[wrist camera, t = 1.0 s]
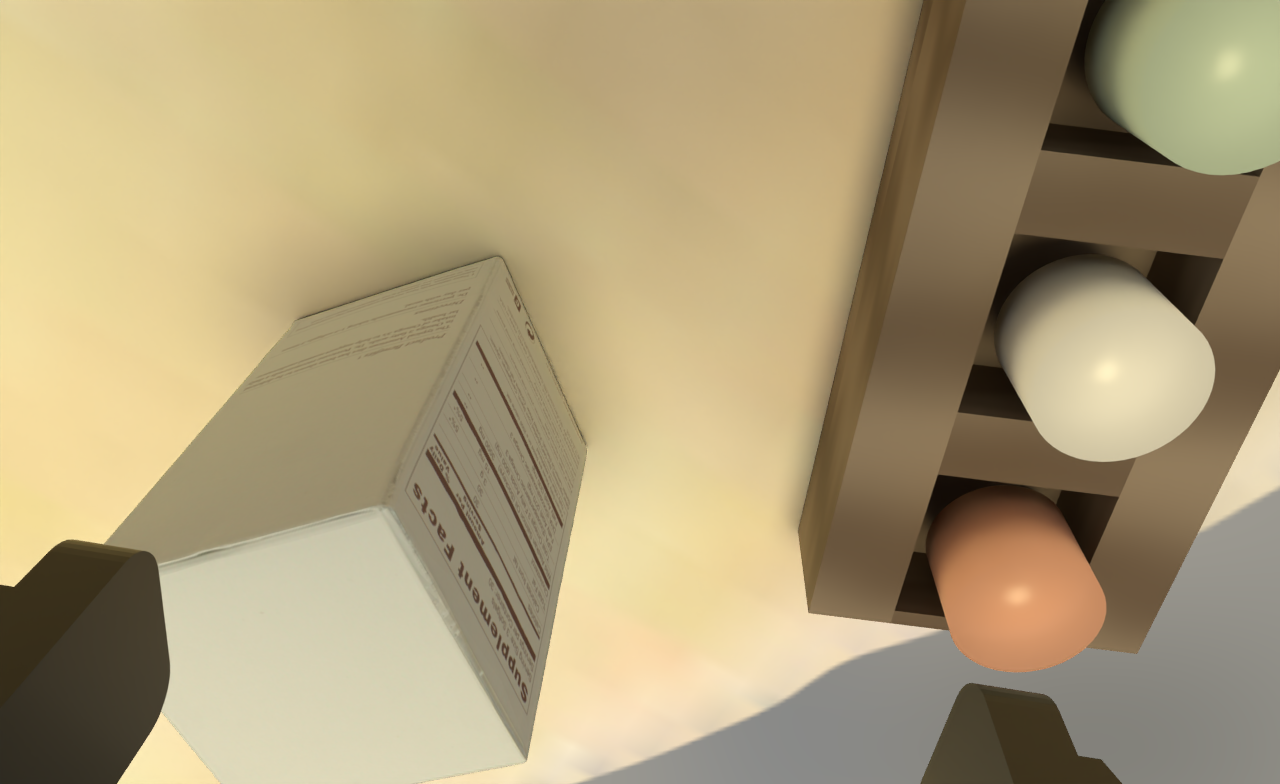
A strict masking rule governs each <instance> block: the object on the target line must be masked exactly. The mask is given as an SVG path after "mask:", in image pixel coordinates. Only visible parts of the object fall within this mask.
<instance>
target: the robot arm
mask: <svg viewBox="0 0 1280 784" xmlns="http://www.w3.org/2000/svg"><path fill="white" fill-rule="evenodd" d="M169 679H170V659H169V650H168V642H167V634H166V626H165V618H164V610H163V601H162V593H161V585H160V577H159V569H158V564H157V562H156V559H155V557H154V556H153V555H152V554H151V553H150V552H147V551H142V550H136V549H130V548H123V547H117V546H110V545H104V544H98V543H91V542H85V541H79V540H66V541H63V542H61V543H59V544H58V545H56V546H55V547H54V548H53V549H51V550H50V551H49V552H48V553H47V554H46V555H45V556H44V557H43V558H42V559H41V560H40V561H39V562H38V563H37V564H36V565H35V566H34V567H33V568H32V570H31V571H30V572H29V573H28V574H27V575H26V576H25V577H24V578H23V579H22V580H21V581H20V582H19V583H18V584H17V585H16V586H15V587H11V586H5V585H0V784H117V783H118V781H119V780H120V778H121V776H122V775H123V773H124V772H125V770H126V769H127V767H128V766H129V764H130V763H131V761H132V760H133V758H134V757H135V755H136V754H137V752H138V751H139V749H140V748H141V746H142V745H143V743H144V741H145V740H146V738H147V737H148V735H149V734H150V732H151V731H152V729H153V727H154V725H155V723H156V721H157V719H158V717H159V715H160V712H161V710H162V707H163V704H164V702H165V698H166V694H167V690H168V685H169ZM921 784H1122V783H1121V782H1120V781H1119V780H1118V779H1117V777H1116V776H1115V775H1114V774H1113V773H1112V772H1111V770H1110V769H1109V768H1108V767H1107V766H1106V765H1105V763H1103V761H1102V760H1101V759H1095V758H1089V757H1082V756H1078V755H1077V752H1076V750H1075V747H1074V745H1073V743H1072V740H1071V738H1070V736H1069V733H1068V731H1067V729H1066V726H1065V724H1064V721H1063V719H1062V717H1061V714H1060V712H1059V710H1058V708H1057V706H1056V704H1055V703H1054V701H1053V700H1052V699H1051V698H1050V697H1048V696H1046V695H1044V694H1038V693H1032V692H1025V691H1019V690H1013V689H1006V688H1000V687H993V686H987V685H980V684H974V683H969V684H966V685H965V686H964V687H963V688H962V689H961V691H960V692H959V694H958V696H957V698H956V700H955V703H954V705H953V707H952V710H951V712H950V714H949V717H948V720H947V722H946V724H945V727H944V729H943V731H942V733H941V736H940V738H939V741H938V743H937V745H936V748H935V750H934V752H933V755H932V757H931V760H930V762H929V764H928V767H927V769H926V771H925V774H924V776H923V778H922V781H921Z"/></svg>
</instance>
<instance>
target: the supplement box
mask: <svg viewBox="0 0 1280 784" xmlns="http://www.w3.org/2000/svg"><path fill="white" fill-rule="evenodd" d="M586 455H587V447H586V445H585V443H584V441H583V439H582V437H581V435H580V433H579V430H578V428H577V425H576V423H575V421H574V418H573V416H572V414H571V411H570V409H569V407H568V405H567V403H566V400H565V398H564V395H563V393H562V391H561V389H560V387H559V385H558V382H557V380H556V378H555V375H554V374H553V371H552V368H551V366H550V364H549V362H548V359H547V357H546V355H545V353H544V350H543V348H542V346H541V344H540V341H539V339H538V337H537V335H536V332H535V330H534V328H533V325H532V323H531V321H530V319H529V316H528V314H527V312H526V310H525V307H524V305H523V303H522V301H521V298H520V296H519V294H518V292H517V290H516V288H515V285H514V283H513V281H512V278H511V276H510V274H509V272H508V269H507V267H506V265H505V263H504V261H503V259H502V258H501V257H499V256H497V257H493V258H490V259H487V260H484V261H481V262H477V263H474V264H471V265H467V266H464V267H460V268H457V269H454V270H451V271H448V272H445V273H441V274H438V275H435V276H432V277H429V278H426V279H423V280H420V281H417V282H413V283H410V284H407V285H404V286H401V287H398V288H395V289H392V290H389V291H386V292H383V293H380V294H376V295H373V296H370V297H367V298H364V299H361V300H358V301H355V302H352V303H349V304H346V305H343V306H340V307H336V308H333V309H330V310H327V311H324V312H321V313H318V314H315V315H312V316H309V317H306V318H302V319H299V320H296V321H294V323H293V325H292V326H291V327H290V329H289V330H288V331H287V332H286V333H285V334H284V335H283V337H282V338H281V339H280V340H279V341H278V342H277V344H276V345H275V346H274V347H273V348H272V349H271V350H270V351H269V353H268V354H267V355H266V356H265V357H264V358H263V360H262V361H261V362H260V363H259V365H258V366H257V367H256V368H255V369H254V370H253V371H252V373H251V374H250V375H249V376H248V377H247V379H246V380H245V381H244V382H243V383H242V384H241V385H240V387H239V388H238V389H237V390H236V391H235V392H234V394H233V395H232V396H231V397H230V398H229V399H228V401H227V402H226V403H225V404H224V405H223V407H222V408H221V409H220V410H219V411H218V412H217V413H216V415H215V416H214V417H213V418H212V419H211V420H210V421H209V423H208V424H207V425H206V426H205V427H204V428H203V430H202V431H201V432H200V433H199V434H198V435H197V437H196V438H195V439H194V440H193V441H192V442H191V444H190V445H189V446H188V447H187V448H186V450H185V451H184V452H183V453H182V454H181V455H180V457H179V458H178V459H177V460H176V461H175V462H174V463H173V465H172V466H171V467H170V468H169V469H168V470H167V472H166V473H165V474H164V475H163V476H162V477H161V479H160V480H159V481H158V482H157V483H156V484H155V486H154V487H153V488H152V489H151V490H150V491H149V493H148V494H147V495H146V496H145V497H144V498H143V500H142V501H141V502H140V503H139V504H138V505H137V507H136V508H135V509H134V510H133V511H132V512H131V514H130V515H129V516H128V517H127V518H126V519H125V520H124V522H123V523H122V524H121V525H120V526H119V527H118V528H117V530H116V531H115V532H114V533H113V534H112V535H111V537H110V538H109V539H108V540H107V541H106V542H105V544H104V545H110V546H117V547H123V548H130V549H136V550H142V551H147V552H150V553H151V554H152V555H153V556H154V557H155V559H156V562H157V564H158V569H159V577H160V585H161V593H162V601H163V610H164V618H165V626H166V634H167V642H168V650H169V659H170V679H169V685H168V690H167V694H166V698H165V702H164V704H163V707H162V710H161V712H162V713H163V714H164V715H165V717H166V718H167V719H168V720H169V722H170V723H171V724H172V725H173V727H174V728H175V729H176V730H177V732H178V733H179V734H180V735H181V736H182V738H183V739H184V740H185V741H186V743H187V744H188V745H189V746H190V747H191V749H192V750H193V751H194V752H195V753H196V755H197V756H198V757H199V758H200V759H201V761H202V762H203V763H204V764H205V765H206V767H207V768H208V769H209V770H210V771H211V772H212V774H213V775H214V777H215V778H216V779H217V780H218V781H219V782H220V784H417V783H423V782H428V781H433V780H438V779H443V778H448V777H453V776H459V775H464V774H469V773H474V772H480V771H485V770H490V769H496V768H501V767H507V766H512V765H517V764H522V763H525V762H526V761H527V758H528V752H529V747H530V742H531V736H532V731H533V726H534V720H535V715H536V710H537V705H538V700H539V696H540V691H541V686H542V680H543V675H544V670H545V665H546V659H547V654H548V649H549V644H550V639H551V634H552V628H553V623H554V618H555V613H556V607H557V601H558V596H559V591H560V586H561V582H562V577H563V571H564V566H565V561H566V556H567V552H568V547H569V542H570V536H571V531H572V527H573V521H574V516H575V511H576V506H577V501H578V496H579V491H580V486H581V481H582V476H583V471H584V466H585V461H586Z"/></svg>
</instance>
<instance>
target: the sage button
mask: <svg viewBox="0 0 1280 784" xmlns="http://www.w3.org/2000/svg"><path fill="white" fill-rule="evenodd" d="M1084 69H1085V76H1086V81H1087V85H1088V88H1089V91H1090V93H1091V95H1092V98H1093V100H1094V101H1095V103H1096V104H1097V106H1098V107H1099V109H1100V110H1101V111H1102V112H1103V113H1104V114H1105V115H1106V116H1107V117H1108V118H1110V119H1111V120H1112V121H1114V122H1115V123H1116V124H1118V125H1119V126H1121V127H1122V128H1124V129H1125V130H1127V131H1128V132H1130V133H1131V134H1133V135H1134V136H1136V137H1137V138H1139V139H1140V140H1141V141H1143V142H1144V143H1146V144H1147V145H1149V146H1150V147H1152V148H1153V149H1155V150H1156V151H1158V152H1159V153H1161V154H1162V155H1164V156H1165V157H1167V158H1168V159H1170V160H1171V161H1173V162H1174V163H1176V164H1178V165H1180V166H1182V167H1183V168H1186V169H1189V170H1192V171H1194V172H1198V173H1203V174H1209V175H1235V174H1241V173H1246V172H1251V171H1254V170H1258V169H1261V168H1264V167H1267V166H1269V165H1272V164H1274V163H1276V162H1279V161H1280V0H1105V2H1104V3H1103V5H1102V6H1101V8H1100V9H1099V11H1098V13H1097V15H1096V17H1095V19H1094V21H1093V24H1092V26H1091V29H1090V32H1089V35H1088V39H1087V43H1086V49H1085V57H1084Z"/></svg>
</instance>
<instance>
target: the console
mask: <svg viewBox="0 0 1280 784" xmlns="http://www.w3.org/2000/svg"><path fill="white" fill-rule="evenodd" d="M1104 2H1105V0H924V2H923V6H922V10H921V14H920V18H919V23H918V27H917V31H916V35H915V40H914V44H913V48H912V52H911V56H910V61H909V65H908V69H907V73H906V78H905V82H904V86H903V90H902V94H901V99H900V103H899V107H898V111H897V116H896V120H895V124H894V128H893V132H892V137H891V141H890V145H889V149H888V154H887V158H886V162H885V166H884V170H883V175H882V179H881V183H880V187H879V192H878V196H877V200H876V204H875V208H874V213H873V217H872V221H871V225H870V230H869V234H868V238H867V242H866V246H865V251H864V255H863V259H862V263H861V268H860V272H859V276H858V280H857V284H856V289H855V293H854V297H853V301H852V306H851V310H850V314H849V318H848V323H847V327H846V331H845V335H844V339H843V344H842V348H841V352H840V356H839V361H838V365H837V369H836V373H835V377H834V382H833V386H832V390H831V394H830V399H829V403H828V407H827V411H826V415H825V420H824V424H823V428H822V432H821V437H820V441H819V445H818V449H817V453H816V458H815V462H814V466H813V470H812V475H811V479H810V483H809V487H808V491H807V496H806V500H805V504H804V508H803V513H802V517H801V521H800V525H799V529H798V534H799V542H800V550H801V558H802V565H803V573H804V581H805V589H806V597H807V605H808V612H809V613H813V614H821V615H829V616H837V617H845V618H853V619H861V620H869V621H877V622H886V623H894V624H902V625H910V626H918V627H926V628H934V629H942V630H949V627H948V624H947V621H946V617H945V614H944V611H943V607H942V604H941V601H940V598H939V594H938V591H937V588H936V584H935V581H934V578H933V575H932V571H931V568H930V565H929V562H928V558H927V555H926V538H927V534H928V531H929V528H930V526H931V524H932V522H933V521H934V519H935V518H936V516H937V515H938V514H939V513H940V512H941V511H942V510H943V509H944V508H945V507H946V506H947V505H948V504H950V503H951V502H952V501H954V500H955V499H957V498H959V497H960V496H962V495H964V494H966V493H969V492H971V491H974V490H977V489H980V488H984V487H989V486H996V485H1013V486H1020V487H1025V488H1029V489H1032V490H1035V491H1037V492H1039V493H1041V494H1043V495H1045V496H1046V497H1048V498H1049V499H1050V500H1051V501H1053V502H1054V503H1055V504H1056V506H1057V507H1058V508H1059V509H1060V511H1061V513H1062V514H1063V516H1064V518H1065V520H1066V522H1067V524H1068V526H1069V527H1070V529H1071V531H1072V533H1073V535H1074V537H1075V539H1076V541H1077V543H1078V544H1079V546H1080V548H1081V550H1082V552H1083V554H1084V556H1085V558H1086V560H1087V562H1088V563H1089V565H1090V567H1091V569H1092V571H1093V573H1094V575H1095V577H1096V579H1097V580H1098V582H1099V584H1100V586H1101V588H1102V590H1103V593H1104V595H1105V599H1106V616H1105V620H1104V623H1103V626H1102V628H1101V629H1100V631H1099V633H1098V635H1097V636H1096V637H1095V639H1094V640H1093V641H1092V642H1091V643H1090V644H1089V645H1088V646H1087V647H1086V648H1094V649H1102V650H1110V651H1119V652H1127V653H1136V654H1137V653H1138V651H1139V649H1140V647H1141V645H1142V643H1143V641H1144V639H1145V637H1146V635H1147V633H1148V631H1149V629H1150V627H1151V625H1152V623H1153V621H1154V619H1155V617H1156V615H1157V613H1158V611H1159V609H1160V607H1161V605H1162V603H1163V601H1164V599H1165V597H1166V595H1167V593H1168V591H1169V589H1170V587H1171V585H1172V583H1173V581H1174V579H1175V577H1176V575H1177V573H1178V571H1179V569H1180V567H1181V565H1182V563H1183V561H1184V559H1185V557H1186V555H1187V553H1188V551H1189V549H1190V547H1191V545H1192V543H1193V541H1194V539H1195V537H1196V535H1197V533H1198V531H1199V529H1200V527H1201V525H1202V523H1203V521H1204V519H1205V518H1206V516H1207V514H1208V512H1209V510H1210V508H1211V506H1212V504H1213V502H1214V500H1215V498H1216V496H1217V494H1218V492H1219V490H1220V488H1221V486H1222V484H1223V482H1224V480H1225V478H1226V476H1227V474H1228V472H1229V470H1230V468H1231V466H1232V464H1233V462H1234V460H1235V458H1236V456H1237V454H1238V452H1239V450H1240V448H1241V446H1242V444H1243V442H1244V440H1245V438H1246V436H1247V434H1248V432H1249V430H1250V428H1251V426H1252V424H1253V422H1254V420H1255V418H1256V416H1257V414H1258V412H1259V410H1260V408H1261V406H1262V404H1263V402H1264V400H1265V398H1266V396H1267V394H1268V392H1269V390H1270V388H1271V386H1272V384H1273V382H1274V380H1275V378H1276V376H1277V374H1278V372H1279V370H1280V161H1279V162H1276V163H1274V164H1272V165H1269V166H1267V167H1264V168H1261V169H1258V170H1254V171H1251V172H1246V173H1241V174H1235V175H1209V174H1203V173H1198V172H1194V171H1192V170H1189V169H1186V168H1183V167H1182V166H1180V165H1178V164H1176V163H1174V162H1173V161H1171V160H1170V159H1168V158H1167V157H1165V156H1164V155H1162V154H1161V153H1159V152H1158V151H1156V150H1155V149H1153V148H1152V147H1150V146H1149V145H1147V144H1146V143H1144V142H1143V141H1141V140H1140V139H1139V138H1137V137H1136V136H1134V135H1133V134H1131V133H1130V132H1128V131H1127V130H1125V129H1124V128H1122V127H1121V126H1119V125H1118V124H1116V123H1115V122H1114V121H1112V120H1111V119H1110V118H1108V117H1107V116H1106V115H1105V114H1104V113H1103V112H1102V111H1101V110H1100V109H1099V107H1098V106H1097V104H1096V103H1095V101H1094V100H1093V98H1092V95H1091V93H1090V91H1089V88H1088V85H1087V81H1086V76H1085V69H1084V57H1085V49H1086V43H1087V39H1088V35H1089V32H1090V29H1091V26H1092V24H1093V21H1094V19H1095V17H1096V15H1097V13H1098V11H1099V9H1100V8H1101V6H1102V5H1103V3H1104ZM1086 254H1095V255H1105V256H1110V257H1114V258H1117V259H1120V260H1122V261H1124V262H1126V263H1128V264H1130V265H1132V266H1133V267H1134V268H1136V269H1137V270H1138V271H1139V272H1140V273H1141V274H1142V275H1143V276H1144V277H1145V278H1146V279H1147V280H1149V281H1150V282H1151V283H1152V284H1153V285H1154V286H1155V287H1156V288H1157V289H1158V290H1159V291H1160V292H1161V293H1162V294H1163V295H1164V296H1165V297H1166V298H1167V299H1168V300H1169V301H1170V302H1171V303H1172V304H1173V305H1174V306H1175V307H1176V308H1177V309H1178V310H1179V311H1180V312H1181V313H1182V314H1183V315H1184V316H1185V317H1186V318H1187V319H1188V320H1189V321H1190V322H1191V323H1192V324H1193V325H1194V326H1195V327H1196V328H1197V329H1198V330H1199V331H1200V332H1201V333H1202V334H1203V335H1204V337H1205V338H1206V340H1207V341H1208V343H1209V345H1210V347H1211V349H1212V353H1213V356H1214V361H1215V379H1214V384H1213V388H1212V391H1211V394H1210V396H1209V399H1208V401H1207V403H1206V404H1205V406H1204V408H1203V410H1202V411H1201V413H1200V414H1199V415H1198V417H1197V418H1196V419H1195V420H1194V421H1193V423H1192V424H1191V425H1190V426H1189V427H1188V428H1187V429H1186V430H1184V431H1183V432H1182V433H1181V434H1180V435H1179V436H1177V437H1176V438H1175V439H1173V440H1172V441H1170V442H1169V443H1167V444H1165V445H1164V446H1162V447H1160V448H1158V449H1156V450H1154V451H1152V452H1149V453H1147V454H1144V455H1141V456H1138V457H1135V458H1131V459H1126V460H1120V461H1112V462H1097V461H1088V460H1082V459H1078V458H1075V457H1072V456H1069V455H1067V454H1065V453H1063V452H1061V451H1059V450H1057V449H1056V448H1054V447H1053V446H1052V445H1050V444H1049V443H1048V442H1047V441H1046V440H1045V439H1044V438H1043V437H1042V435H1041V434H1040V433H1039V431H1038V429H1037V428H1036V426H1035V424H1034V423H1033V421H1032V419H1031V417H1030V415H1029V414H1028V412H1027V410H1026V408H1025V407H1024V405H1023V403H1022V401H1021V399H1020V398H1019V396H1018V394H1017V392H1016V391H1015V389H1014V387H1013V385H1012V383H1011V382H1010V380H1009V378H1008V376H1007V375H1006V373H1005V371H1004V369H1003V367H1002V366H1001V364H1000V362H999V360H998V357H997V355H996V351H995V346H994V329H995V324H996V320H997V317H998V314H999V312H1000V309H1001V307H1002V306H1003V304H1004V302H1005V300H1006V299H1007V297H1008V296H1009V295H1010V293H1011V292H1012V291H1013V290H1014V289H1015V287H1016V286H1017V285H1018V284H1019V283H1020V282H1021V281H1023V280H1024V279H1025V278H1026V277H1027V276H1029V275H1030V274H1032V273H1033V272H1034V271H1036V270H1037V269H1039V268H1041V267H1043V266H1045V265H1047V264H1049V263H1051V262H1054V261H1056V260H1059V259H1063V258H1066V257H1070V256H1076V255H1086Z"/></svg>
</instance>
